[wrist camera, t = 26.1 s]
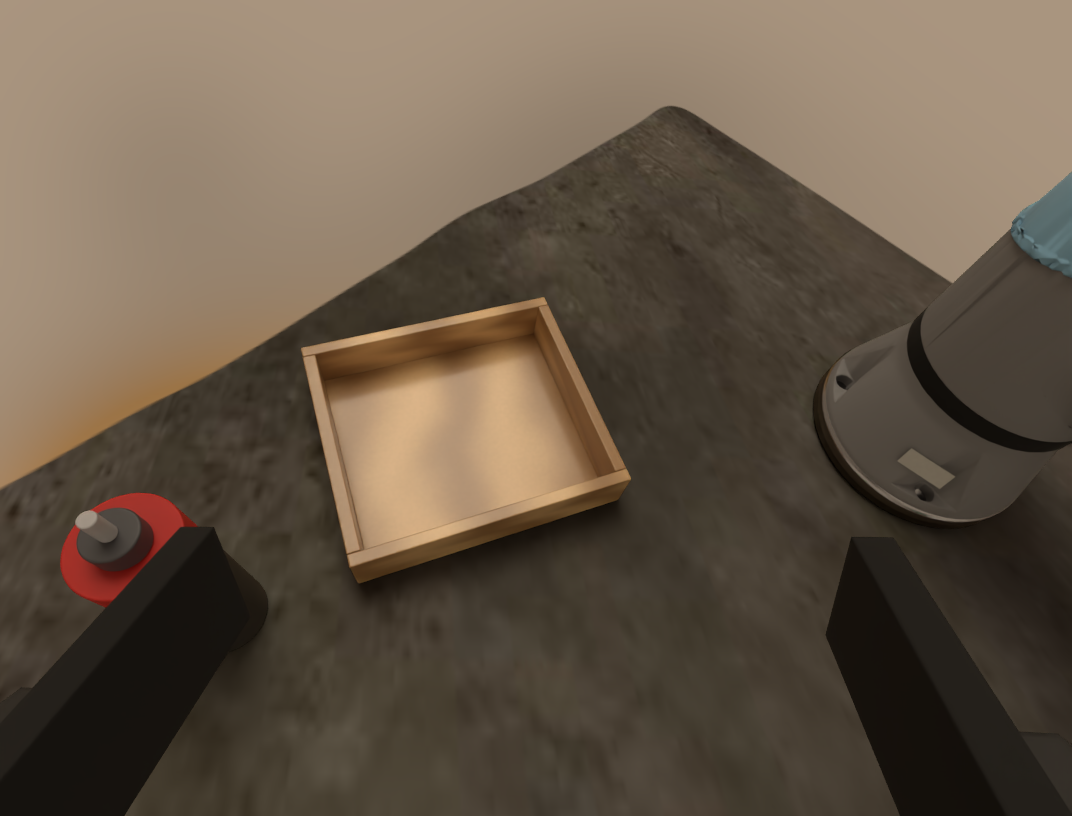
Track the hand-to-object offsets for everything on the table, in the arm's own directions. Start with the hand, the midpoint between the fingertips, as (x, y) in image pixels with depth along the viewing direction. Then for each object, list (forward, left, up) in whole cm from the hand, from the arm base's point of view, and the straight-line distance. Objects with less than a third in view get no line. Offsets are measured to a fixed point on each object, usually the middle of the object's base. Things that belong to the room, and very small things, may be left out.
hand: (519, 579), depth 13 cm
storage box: (-4, -16, -24) cm, 29 cm away
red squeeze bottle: (+12, -9, -24) cm, 29 cm away
